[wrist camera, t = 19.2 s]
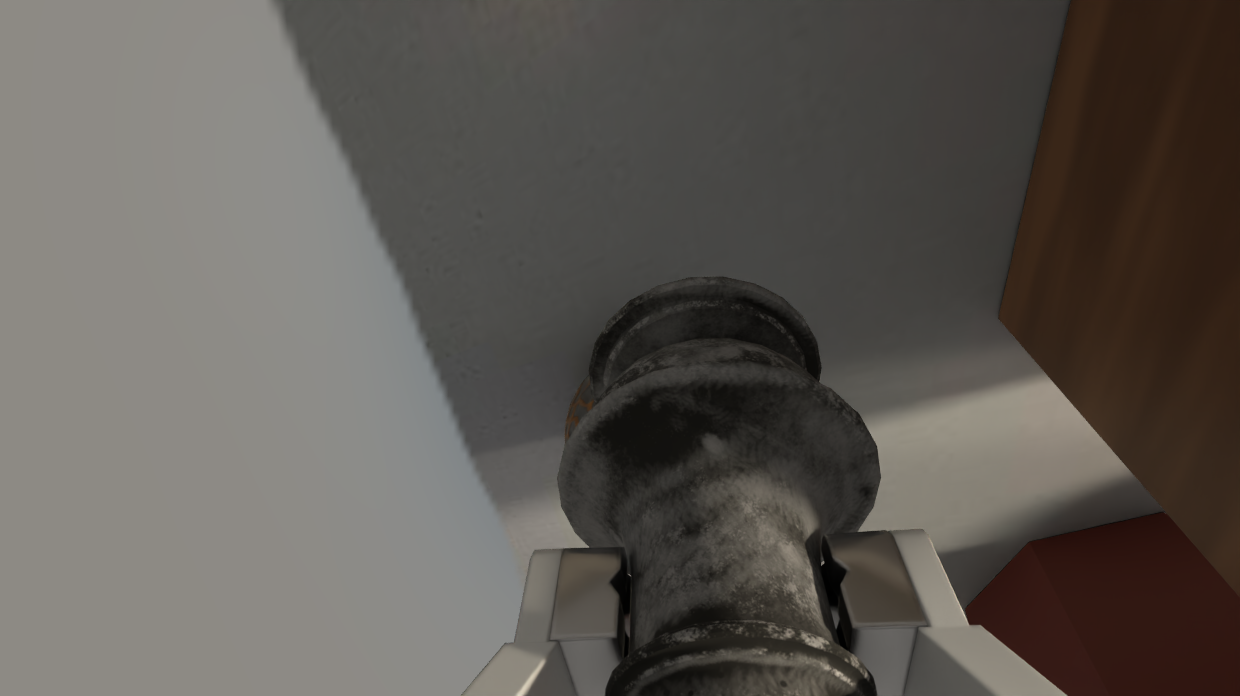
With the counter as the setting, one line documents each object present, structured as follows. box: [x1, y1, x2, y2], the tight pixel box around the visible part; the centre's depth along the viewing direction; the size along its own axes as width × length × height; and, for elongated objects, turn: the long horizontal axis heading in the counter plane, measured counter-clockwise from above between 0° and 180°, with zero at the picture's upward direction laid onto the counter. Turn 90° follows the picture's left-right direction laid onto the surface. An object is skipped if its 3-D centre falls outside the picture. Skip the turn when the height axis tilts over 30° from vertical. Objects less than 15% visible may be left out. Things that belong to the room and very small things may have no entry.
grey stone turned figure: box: [557, 277, 881, 696], centre depth 10 cm, size 6×6×12 cm
